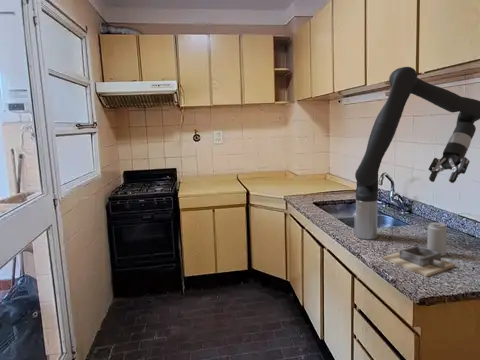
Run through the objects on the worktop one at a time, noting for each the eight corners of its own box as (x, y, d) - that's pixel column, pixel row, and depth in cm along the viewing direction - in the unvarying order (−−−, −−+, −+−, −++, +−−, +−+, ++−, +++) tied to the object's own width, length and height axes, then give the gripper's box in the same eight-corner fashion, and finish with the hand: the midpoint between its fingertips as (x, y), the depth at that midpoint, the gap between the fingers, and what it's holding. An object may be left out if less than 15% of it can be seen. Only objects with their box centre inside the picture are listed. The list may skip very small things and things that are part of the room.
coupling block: (383, 259, 133) (383, 249, 132) (410, 251, 139) (411, 241, 139) (426, 276, 117) (426, 265, 116) (455, 266, 123) (455, 256, 123)
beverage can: (424, 254, 135) (425, 224, 134) (430, 249, 140) (431, 220, 138) (443, 258, 131) (444, 227, 129) (448, 253, 135) (449, 223, 133)
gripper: (435, 142, 145) (419, 175, 142) (469, 140, 132) (452, 177, 129) (446, 152, 147) (430, 185, 145) (480, 151, 134) (463, 187, 131)
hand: (440, 181), depth 137 cm, fingers open, 8 cm apart
